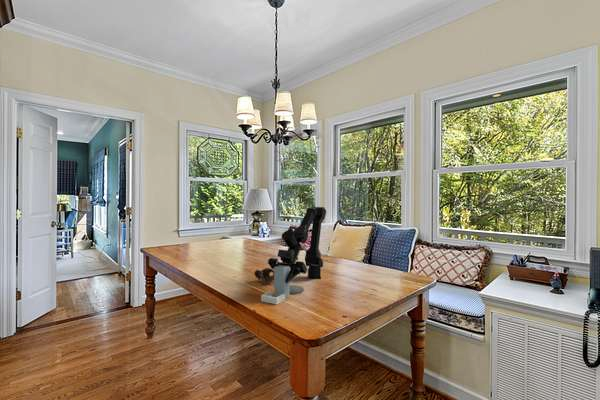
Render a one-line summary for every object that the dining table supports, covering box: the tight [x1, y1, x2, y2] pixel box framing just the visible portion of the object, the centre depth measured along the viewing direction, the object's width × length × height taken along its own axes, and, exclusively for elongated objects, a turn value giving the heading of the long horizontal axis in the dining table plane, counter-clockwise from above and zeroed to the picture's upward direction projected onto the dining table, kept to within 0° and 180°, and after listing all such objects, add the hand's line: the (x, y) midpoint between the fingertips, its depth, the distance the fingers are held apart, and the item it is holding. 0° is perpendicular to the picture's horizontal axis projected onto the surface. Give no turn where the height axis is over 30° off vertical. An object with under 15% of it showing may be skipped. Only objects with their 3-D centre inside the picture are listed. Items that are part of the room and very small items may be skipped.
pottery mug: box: [254, 267, 274, 286], centre depth 150 cm, size 12×10×8 cm
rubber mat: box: [290, 284, 305, 295], centre depth 137 cm, size 12×12×1 cm
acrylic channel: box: [260, 290, 286, 305], centre depth 123 cm, size 7×8×2 cm
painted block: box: [273, 265, 291, 298], centre depth 129 cm, size 5×5×13 cm
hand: (280, 281), depth 128 cm, fingers open, 6 cm apart
